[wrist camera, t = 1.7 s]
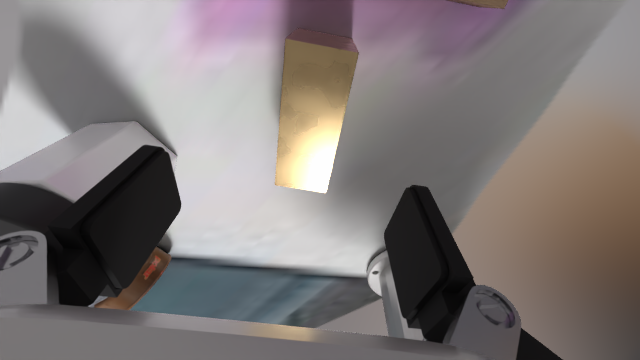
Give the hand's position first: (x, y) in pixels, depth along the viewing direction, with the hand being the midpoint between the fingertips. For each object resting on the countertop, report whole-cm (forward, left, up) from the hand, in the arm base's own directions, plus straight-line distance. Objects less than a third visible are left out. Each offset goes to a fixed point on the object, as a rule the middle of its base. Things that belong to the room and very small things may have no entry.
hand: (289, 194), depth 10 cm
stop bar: (0, 0, -13) cm, 13 cm away
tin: (+21, +27, -13) cm, 37 cm away
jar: (+17, +9, -13) cm, 23 cm away
